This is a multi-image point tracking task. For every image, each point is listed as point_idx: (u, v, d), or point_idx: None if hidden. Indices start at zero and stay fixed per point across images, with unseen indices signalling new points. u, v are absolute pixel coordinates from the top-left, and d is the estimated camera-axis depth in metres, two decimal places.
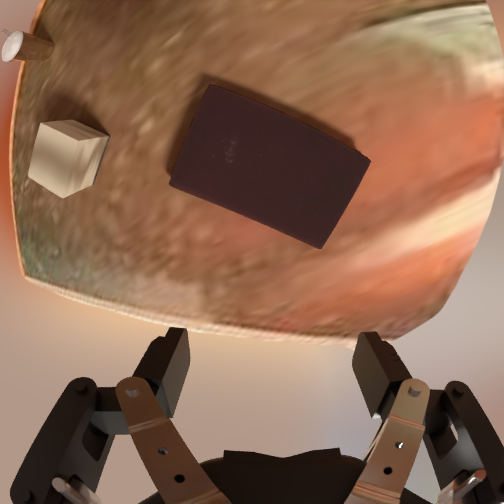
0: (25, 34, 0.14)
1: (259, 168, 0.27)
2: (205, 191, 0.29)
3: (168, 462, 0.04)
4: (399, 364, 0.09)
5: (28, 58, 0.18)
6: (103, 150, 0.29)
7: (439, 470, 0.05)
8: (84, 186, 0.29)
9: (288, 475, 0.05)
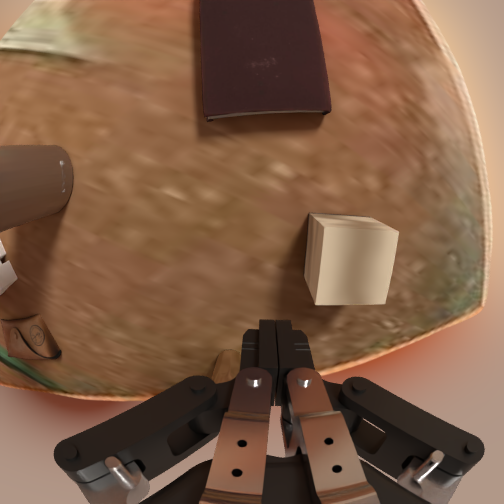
0: None
1: (266, 35, 0.20)
2: (316, 70, 0.21)
3: (239, 455, 0.05)
4: (305, 353, 0.10)
5: None
6: (327, 214, 0.27)
7: (378, 462, 0.06)
8: (375, 221, 0.25)
9: (288, 475, 0.05)
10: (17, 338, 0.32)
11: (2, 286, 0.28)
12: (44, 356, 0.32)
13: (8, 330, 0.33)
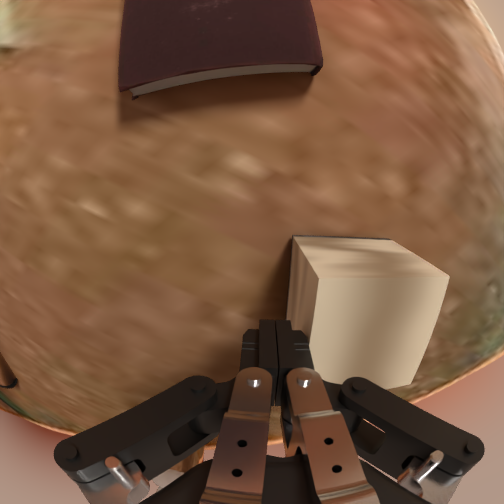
0: None
1: None
2: (295, 8, 0.11)
3: (239, 455, 0.05)
4: (305, 353, 0.10)
5: None
6: (323, 237, 0.17)
7: (378, 462, 0.06)
8: (402, 248, 0.15)
9: (288, 475, 0.05)
10: None
11: None
12: (0, 384, 0.22)
13: None
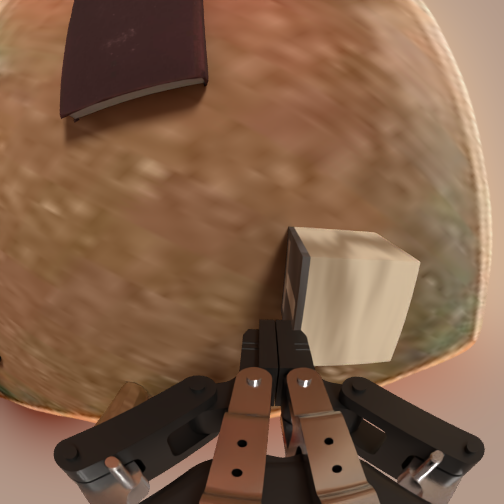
0: None
1: (129, 5, 0.12)
2: (185, 29, 0.13)
3: (239, 455, 0.05)
4: (305, 353, 0.10)
5: None
6: (304, 246, 0.15)
7: (378, 462, 0.06)
8: (321, 229, 0.20)
9: (288, 475, 0.05)
10: None
11: None
12: None
13: None
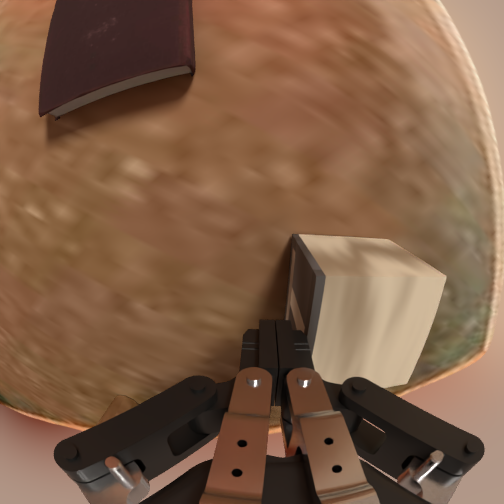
0: None
1: None
2: (170, 14, 0.11)
3: (239, 455, 0.05)
4: (305, 353, 0.10)
5: None
6: (315, 260, 0.12)
7: (378, 462, 0.06)
8: (329, 236, 0.17)
9: (288, 475, 0.05)
10: None
11: None
12: None
13: None
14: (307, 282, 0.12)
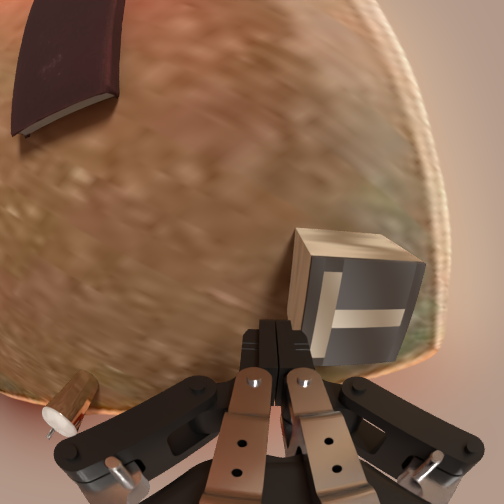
0: (46, 405, 0.19)
1: (60, 32, 0.12)
2: (97, 49, 0.14)
3: (239, 455, 0.05)
4: (305, 353, 0.10)
5: (78, 398, 0.22)
6: (396, 260, 0.14)
7: (378, 462, 0.06)
8: (309, 244, 0.16)
9: (288, 475, 0.05)
10: None
11: None
12: None
13: None
14: (404, 278, 0.13)
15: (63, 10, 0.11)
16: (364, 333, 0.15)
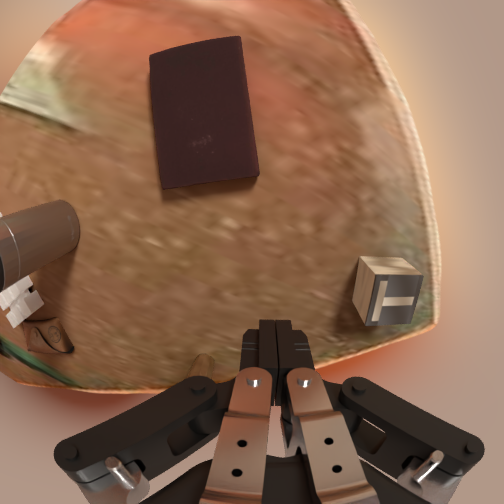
0: None
1: (202, 113, 0.29)
2: (245, 141, 0.30)
3: (238, 455, 0.05)
4: (305, 353, 0.10)
5: (208, 373, 0.39)
6: (410, 274, 0.29)
7: (378, 462, 0.06)
8: (372, 267, 0.32)
9: (288, 475, 0.05)
10: (37, 336, 0.43)
11: (32, 311, 0.39)
12: (60, 351, 0.43)
13: (29, 329, 0.44)
14: (413, 282, 0.29)
15: (198, 91, 0.28)
16: (396, 308, 0.30)
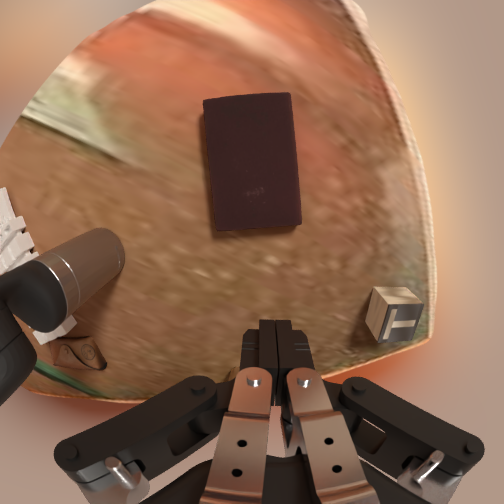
0: None
1: (256, 167, 0.36)
2: (292, 195, 0.37)
3: (239, 455, 0.05)
4: (305, 353, 0.10)
5: None
6: (413, 303, 0.37)
7: (378, 462, 0.06)
8: (384, 298, 0.39)
9: (288, 475, 0.05)
10: (68, 353, 0.48)
11: (67, 331, 0.44)
12: (94, 368, 0.48)
13: (57, 346, 0.48)
14: (416, 309, 0.37)
15: (252, 145, 0.35)
16: (401, 329, 0.38)
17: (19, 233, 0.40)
